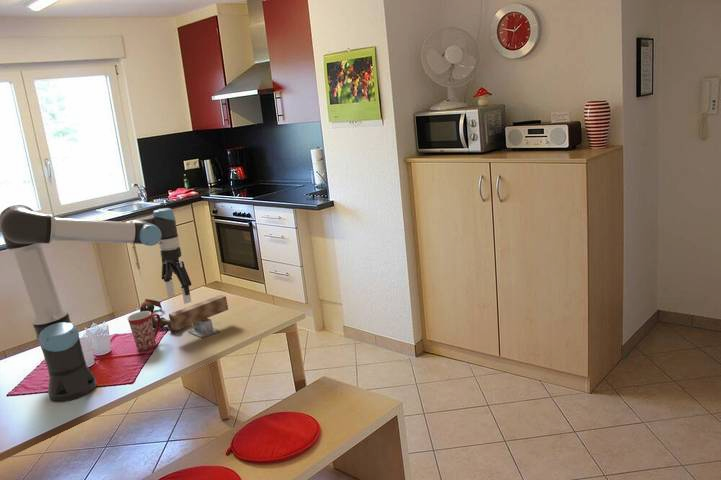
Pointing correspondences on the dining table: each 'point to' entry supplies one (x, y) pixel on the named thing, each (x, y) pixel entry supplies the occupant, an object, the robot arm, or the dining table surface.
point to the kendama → (163, 324)
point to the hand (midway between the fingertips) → (179, 299)
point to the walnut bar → (198, 312)
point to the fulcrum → (203, 328)
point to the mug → (144, 329)
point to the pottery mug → (150, 305)
